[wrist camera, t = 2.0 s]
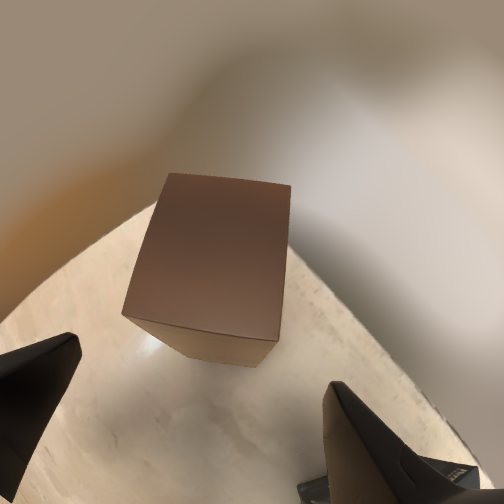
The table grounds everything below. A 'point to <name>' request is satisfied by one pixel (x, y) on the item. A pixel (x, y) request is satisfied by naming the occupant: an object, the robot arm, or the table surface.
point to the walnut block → (213, 268)
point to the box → (466, 476)
